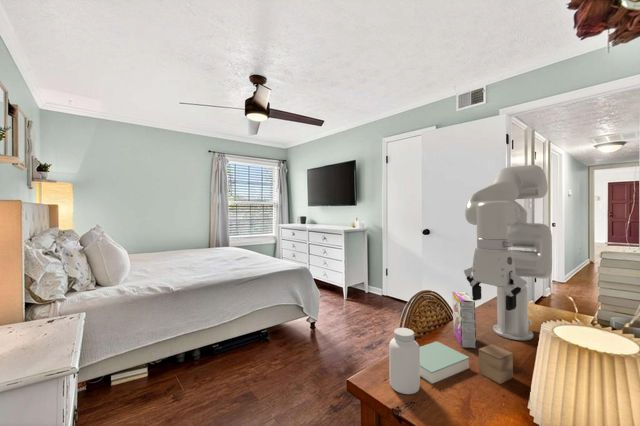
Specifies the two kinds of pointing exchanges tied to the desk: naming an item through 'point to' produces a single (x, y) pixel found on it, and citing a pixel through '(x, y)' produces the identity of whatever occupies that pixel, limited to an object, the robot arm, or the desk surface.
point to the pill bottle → (404, 362)
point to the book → (440, 362)
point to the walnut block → (496, 363)
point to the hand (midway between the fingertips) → (493, 304)
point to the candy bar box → (464, 319)
